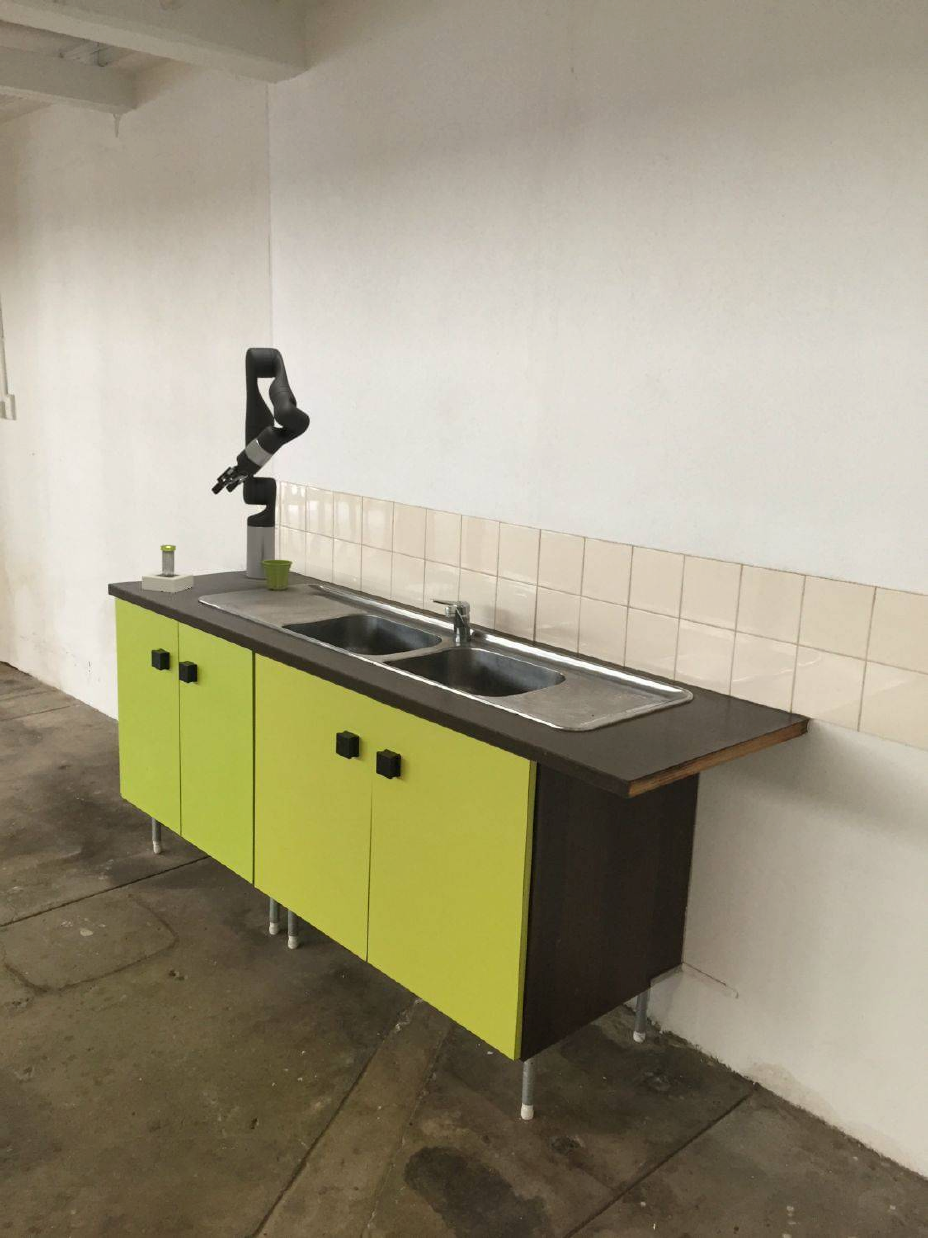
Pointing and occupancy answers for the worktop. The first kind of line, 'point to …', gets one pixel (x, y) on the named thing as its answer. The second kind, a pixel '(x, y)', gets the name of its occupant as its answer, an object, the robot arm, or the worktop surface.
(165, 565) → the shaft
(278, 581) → the plant pot
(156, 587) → the white square base
